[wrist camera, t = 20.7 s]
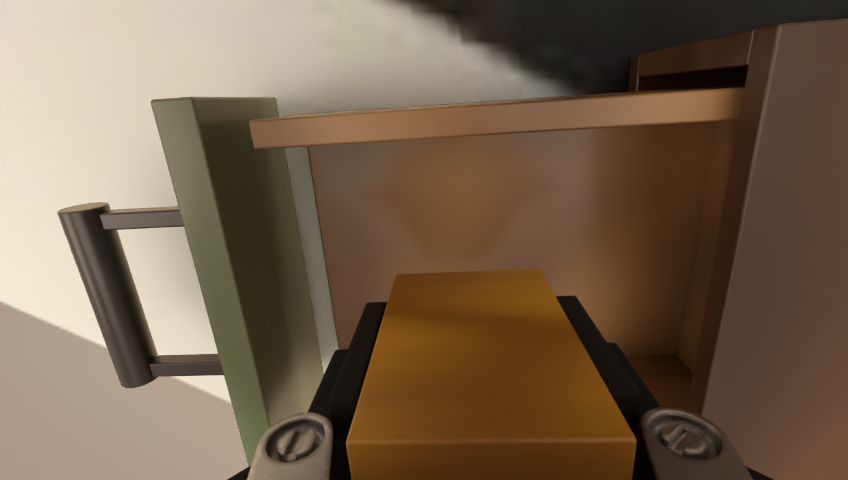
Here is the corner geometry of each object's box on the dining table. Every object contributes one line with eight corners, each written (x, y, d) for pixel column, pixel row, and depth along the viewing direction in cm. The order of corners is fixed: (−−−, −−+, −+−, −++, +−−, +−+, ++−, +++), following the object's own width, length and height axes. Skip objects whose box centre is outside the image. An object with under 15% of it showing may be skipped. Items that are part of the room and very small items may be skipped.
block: (406, 392, 13) (373, 627, 7) (395, 273, 11) (344, 442, 6) (537, 389, 12) (614, 633, 7) (540, 267, 11) (639, 440, 5)
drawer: (202, 378, 21) (117, 476, 16) (123, 107, 17) (-33, 112, 11) (677, 367, 20) (767, 472, 14) (727, 65, 15) (886, 46, 10)
